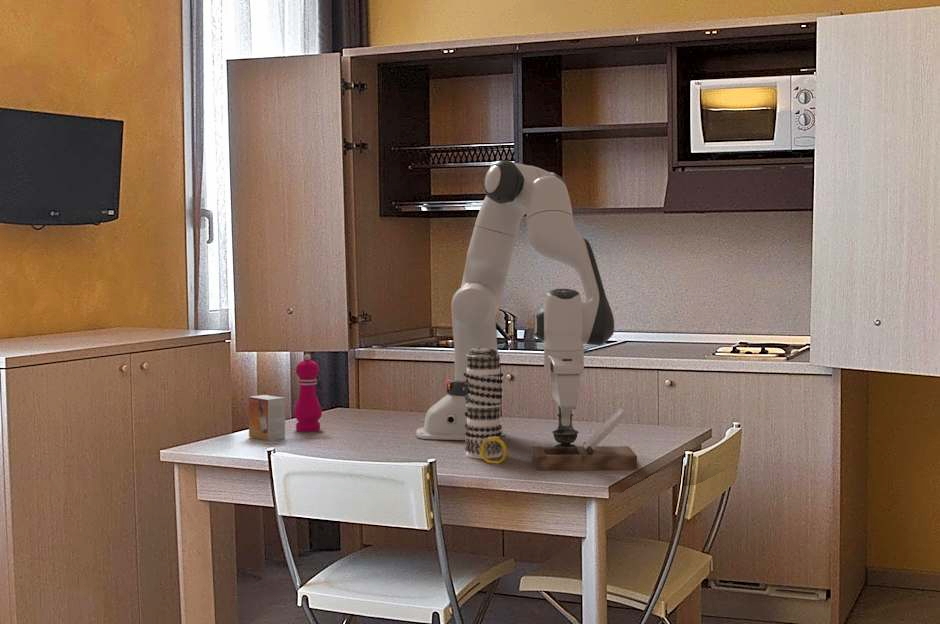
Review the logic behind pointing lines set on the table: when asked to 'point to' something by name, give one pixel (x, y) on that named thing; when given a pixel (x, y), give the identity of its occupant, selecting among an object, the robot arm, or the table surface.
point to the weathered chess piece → (565, 435)
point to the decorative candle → (483, 402)
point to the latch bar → (605, 429)
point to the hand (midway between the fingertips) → (564, 423)
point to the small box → (267, 417)
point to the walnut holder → (585, 458)
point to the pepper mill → (307, 397)
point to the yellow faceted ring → (496, 438)
